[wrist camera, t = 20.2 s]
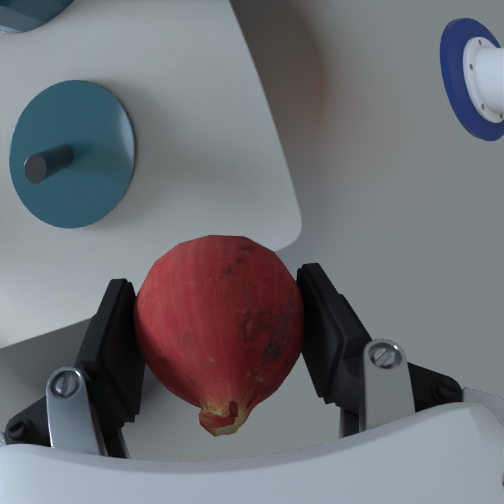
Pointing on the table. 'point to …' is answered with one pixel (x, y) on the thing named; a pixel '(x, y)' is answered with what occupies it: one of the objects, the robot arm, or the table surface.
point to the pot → (28, 13)
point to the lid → (72, 154)
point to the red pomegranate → (220, 326)
